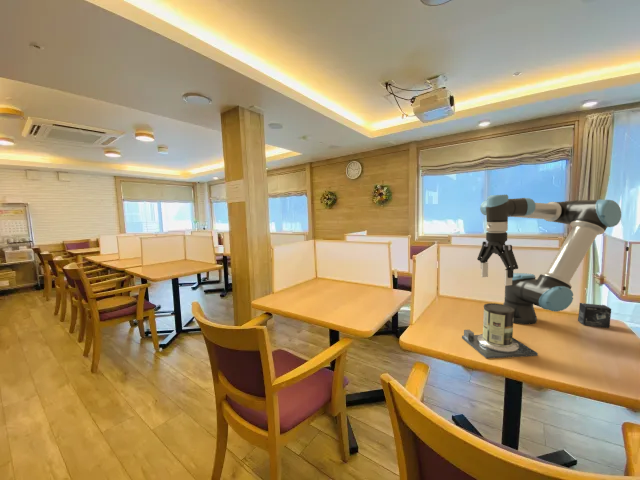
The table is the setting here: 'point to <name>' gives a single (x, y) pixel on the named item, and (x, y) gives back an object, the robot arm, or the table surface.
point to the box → (594, 315)
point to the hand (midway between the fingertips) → (495, 280)
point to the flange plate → (495, 351)
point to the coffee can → (498, 324)
